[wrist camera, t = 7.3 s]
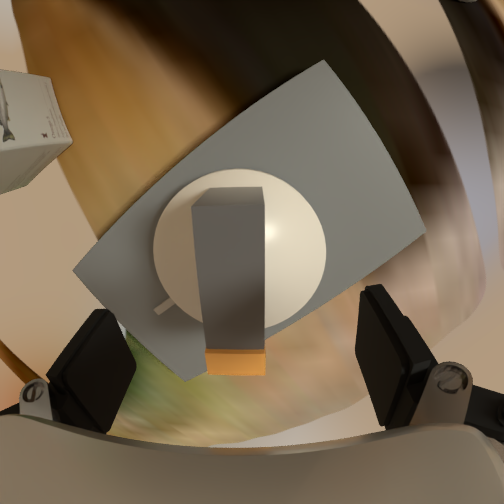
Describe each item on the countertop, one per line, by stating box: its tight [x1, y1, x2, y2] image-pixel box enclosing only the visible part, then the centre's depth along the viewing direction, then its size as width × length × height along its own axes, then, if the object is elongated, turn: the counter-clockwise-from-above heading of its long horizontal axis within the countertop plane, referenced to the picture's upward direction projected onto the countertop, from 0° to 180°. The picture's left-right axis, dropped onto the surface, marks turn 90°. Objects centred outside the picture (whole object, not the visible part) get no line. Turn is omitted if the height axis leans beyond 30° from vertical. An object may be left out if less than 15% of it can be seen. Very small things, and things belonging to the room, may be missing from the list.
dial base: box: [73, 60, 426, 382], centre depth 20 cm, size 24×14×2 cm, turn 127°
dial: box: [153, 168, 326, 375], centre depth 16 cm, size 11×11×6 cm
